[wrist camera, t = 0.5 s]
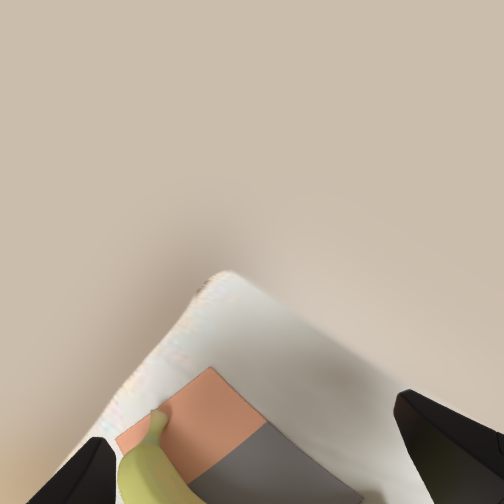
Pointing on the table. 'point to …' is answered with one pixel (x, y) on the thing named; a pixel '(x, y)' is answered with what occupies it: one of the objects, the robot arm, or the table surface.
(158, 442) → the banana
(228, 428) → the pad
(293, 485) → the mat
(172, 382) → the table surface
